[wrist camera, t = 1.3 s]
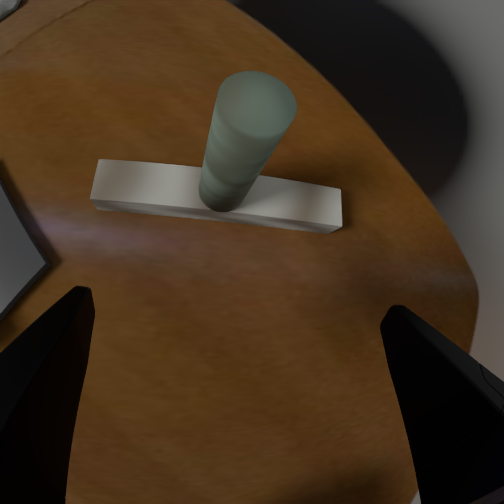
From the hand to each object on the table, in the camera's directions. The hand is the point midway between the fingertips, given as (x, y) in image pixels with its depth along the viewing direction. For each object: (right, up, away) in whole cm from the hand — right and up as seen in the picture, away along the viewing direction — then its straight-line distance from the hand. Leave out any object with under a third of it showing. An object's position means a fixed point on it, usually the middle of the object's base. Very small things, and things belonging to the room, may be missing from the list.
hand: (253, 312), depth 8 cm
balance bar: (-3, +5, +15) cm, 16 cm away
